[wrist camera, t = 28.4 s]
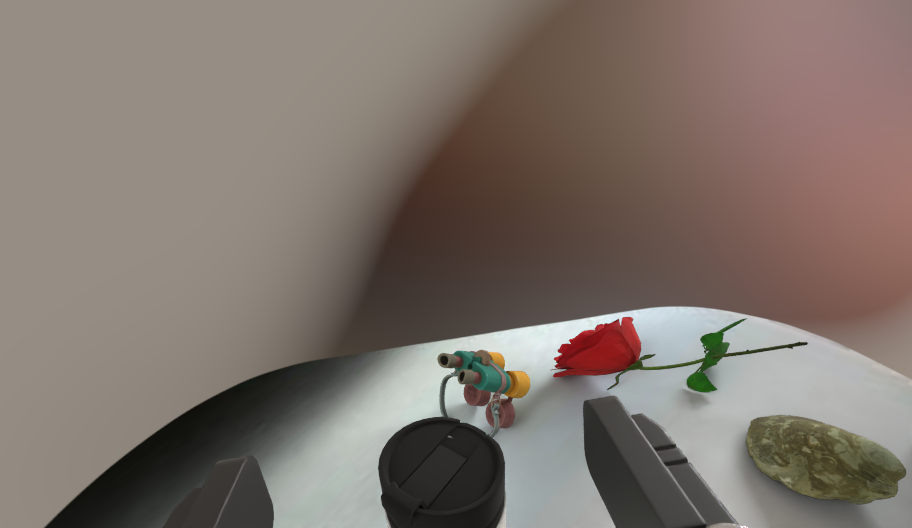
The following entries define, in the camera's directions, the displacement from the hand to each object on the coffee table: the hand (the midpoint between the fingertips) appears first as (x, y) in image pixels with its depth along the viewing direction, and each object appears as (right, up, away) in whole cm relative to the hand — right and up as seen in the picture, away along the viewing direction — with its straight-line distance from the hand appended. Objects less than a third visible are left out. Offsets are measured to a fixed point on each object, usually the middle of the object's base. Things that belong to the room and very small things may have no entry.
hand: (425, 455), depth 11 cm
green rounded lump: (+35, -15, +33) cm, 50 cm away
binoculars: (+4, -13, +40) cm, 43 cm away
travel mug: (+1, -22, +20) cm, 30 cm away
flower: (+27, -9, +45) cm, 53 cm away
